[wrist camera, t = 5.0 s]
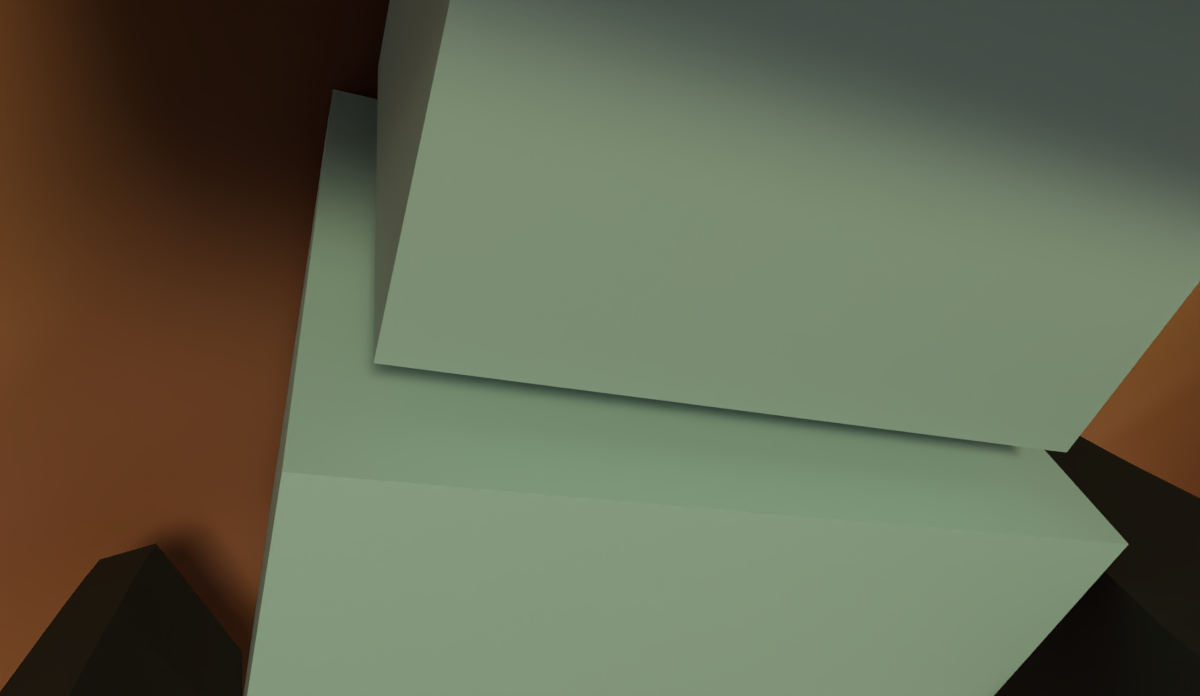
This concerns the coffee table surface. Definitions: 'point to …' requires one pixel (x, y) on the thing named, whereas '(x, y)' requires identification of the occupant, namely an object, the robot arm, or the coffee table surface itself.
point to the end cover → (720, 343)
